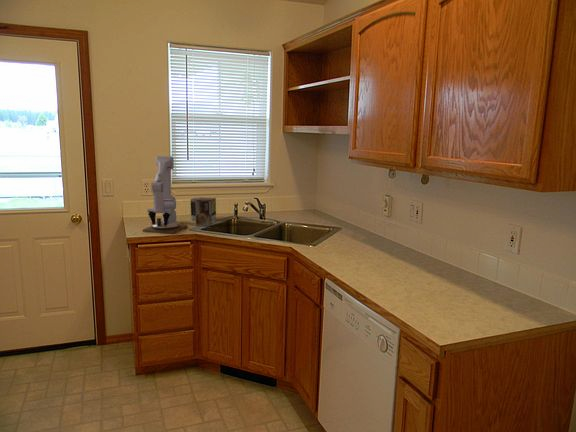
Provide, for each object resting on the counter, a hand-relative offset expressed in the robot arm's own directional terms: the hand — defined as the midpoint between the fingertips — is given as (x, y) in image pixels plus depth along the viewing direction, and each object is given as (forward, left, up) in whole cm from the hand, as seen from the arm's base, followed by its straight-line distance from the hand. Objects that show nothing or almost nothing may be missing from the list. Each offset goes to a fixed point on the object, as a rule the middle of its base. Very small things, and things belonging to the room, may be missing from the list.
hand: (159, 224), depth 269 cm
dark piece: (-44, +9, -5) cm, 45 cm away
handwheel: (-7, 0, -2) cm, 7 cm away
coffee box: (-26, +17, -5) cm, 31 cm away
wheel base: (-7, 0, -4) cm, 8 cm away
